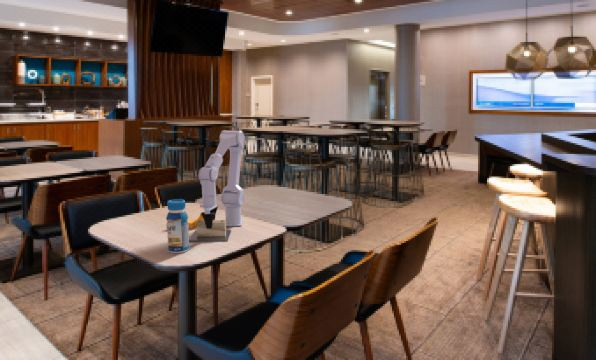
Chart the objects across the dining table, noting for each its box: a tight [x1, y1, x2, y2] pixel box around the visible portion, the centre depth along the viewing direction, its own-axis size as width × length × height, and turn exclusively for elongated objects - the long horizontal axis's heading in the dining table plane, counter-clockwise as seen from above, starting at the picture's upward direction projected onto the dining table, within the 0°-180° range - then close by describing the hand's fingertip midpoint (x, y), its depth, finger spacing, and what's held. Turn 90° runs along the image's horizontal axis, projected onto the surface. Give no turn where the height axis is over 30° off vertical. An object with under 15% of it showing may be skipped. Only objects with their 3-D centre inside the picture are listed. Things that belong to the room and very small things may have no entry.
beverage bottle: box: [165, 198, 191, 254], centre depth 174 cm, size 8×8×20 cm
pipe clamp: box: [187, 211, 204, 229], centre depth 207 cm, size 12×4×6 cm, turn 99°
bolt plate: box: [189, 229, 232, 243], centre depth 193 cm, size 14×16×1 cm
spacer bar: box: [195, 219, 227, 237], centre depth 192 cm, size 4×12×6 cm, turn 93°
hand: (210, 225), depth 192 cm, fingers open, 7 cm apart
